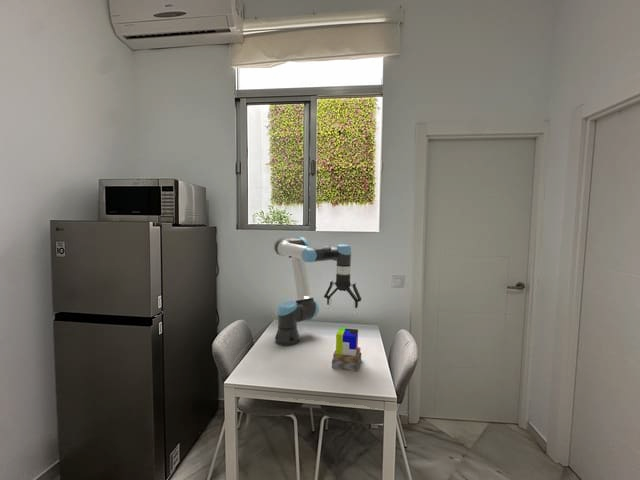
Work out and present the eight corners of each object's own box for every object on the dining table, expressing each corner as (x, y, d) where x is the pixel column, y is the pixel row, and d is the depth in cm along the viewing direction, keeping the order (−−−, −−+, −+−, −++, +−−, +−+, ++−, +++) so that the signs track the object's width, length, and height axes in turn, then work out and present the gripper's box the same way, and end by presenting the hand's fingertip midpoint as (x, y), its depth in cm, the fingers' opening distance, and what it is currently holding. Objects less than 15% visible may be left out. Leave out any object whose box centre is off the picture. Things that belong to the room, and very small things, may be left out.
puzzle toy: (355, 356, 154) (355, 336, 153) (335, 353, 156) (336, 334, 155) (357, 347, 164) (357, 329, 163) (339, 345, 166) (339, 327, 165)
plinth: (332, 367, 156) (332, 354, 155) (337, 356, 168) (337, 344, 168) (357, 371, 152) (357, 358, 152) (361, 359, 165) (361, 347, 164)
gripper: (318, 272, 164) (318, 311, 166) (365, 276, 157) (363, 317, 159) (322, 270, 171) (322, 307, 173) (367, 274, 164) (366, 312, 166)
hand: (342, 312), depth 166 cm, fingers open, 13 cm apart
